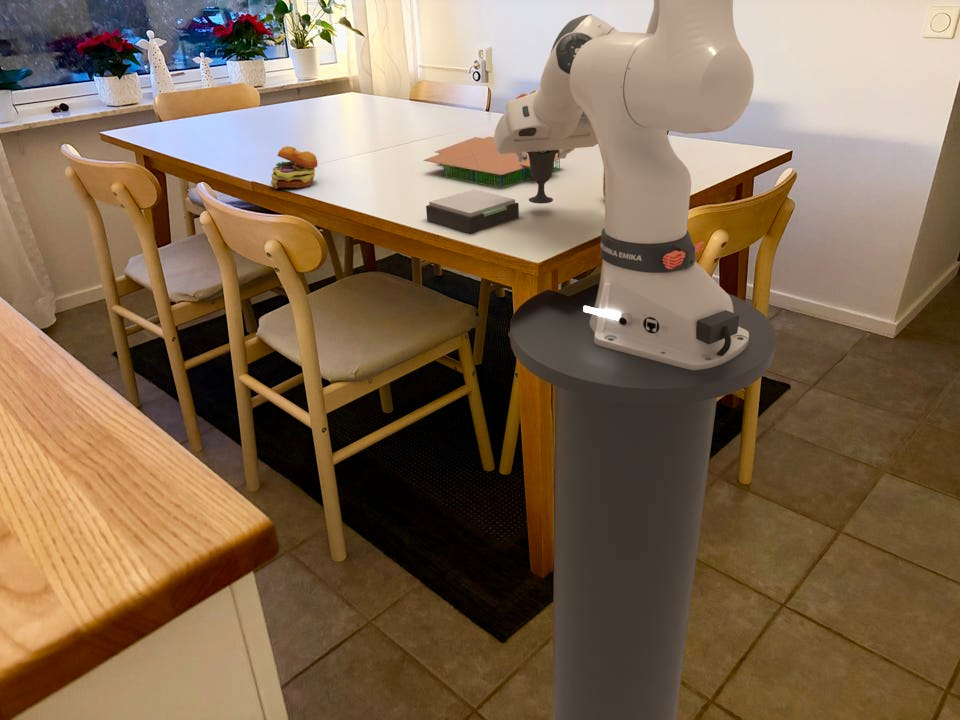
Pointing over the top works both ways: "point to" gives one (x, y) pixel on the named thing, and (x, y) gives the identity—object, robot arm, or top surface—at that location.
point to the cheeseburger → (294, 169)
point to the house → (482, 160)
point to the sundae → (541, 172)
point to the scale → (472, 210)
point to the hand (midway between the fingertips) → (540, 157)
